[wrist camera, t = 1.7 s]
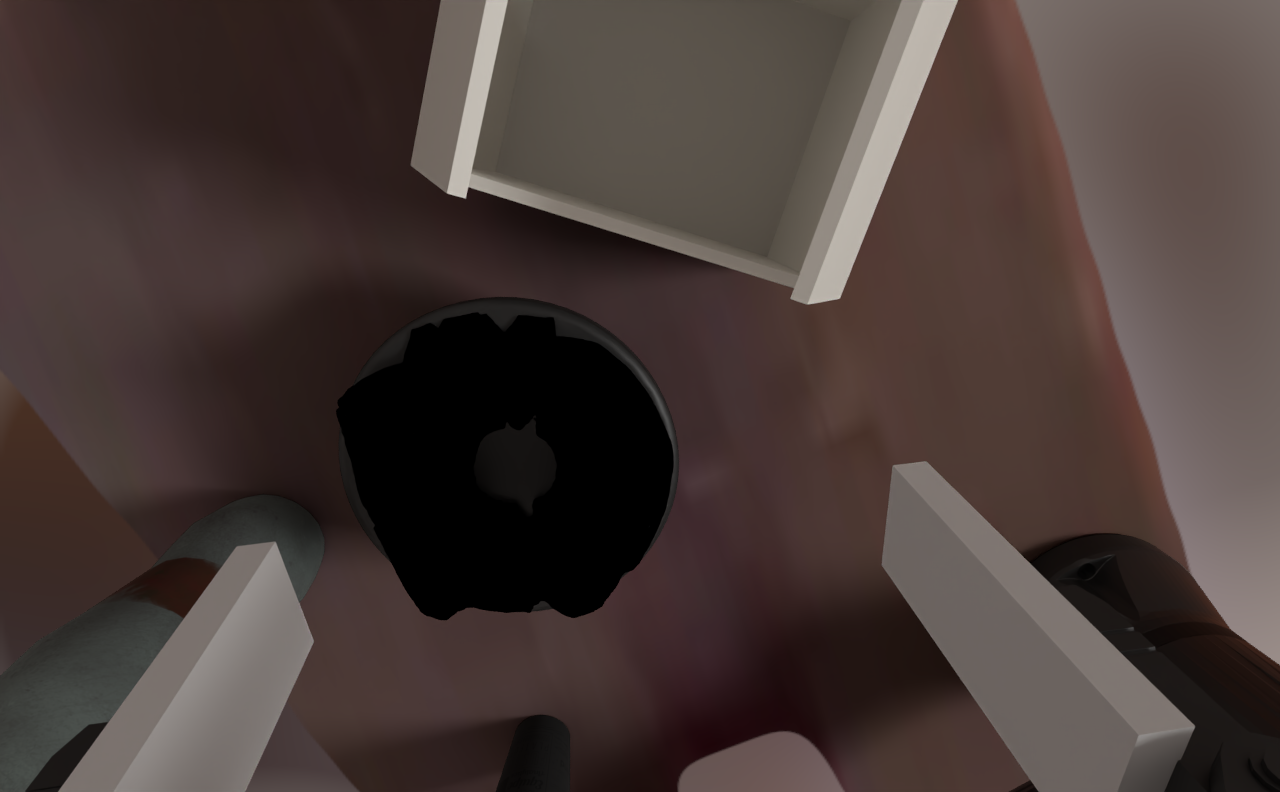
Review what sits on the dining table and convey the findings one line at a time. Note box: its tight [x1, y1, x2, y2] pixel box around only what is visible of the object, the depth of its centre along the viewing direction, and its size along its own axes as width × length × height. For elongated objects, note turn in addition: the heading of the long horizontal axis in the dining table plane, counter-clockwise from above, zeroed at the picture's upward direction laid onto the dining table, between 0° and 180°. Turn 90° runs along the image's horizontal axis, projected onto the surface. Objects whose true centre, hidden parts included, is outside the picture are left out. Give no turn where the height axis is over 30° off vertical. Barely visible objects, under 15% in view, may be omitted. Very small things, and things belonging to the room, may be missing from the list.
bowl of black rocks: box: [336, 297, 679, 620], centre depth 38 cm, size 20×20×19 cm
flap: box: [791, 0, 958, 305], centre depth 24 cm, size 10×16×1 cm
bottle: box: [0, 494, 324, 792], centre depth 36 cm, size 9×9×30 cm
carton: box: [468, 0, 902, 288], centre depth 34 cm, size 20×16×14 cm
